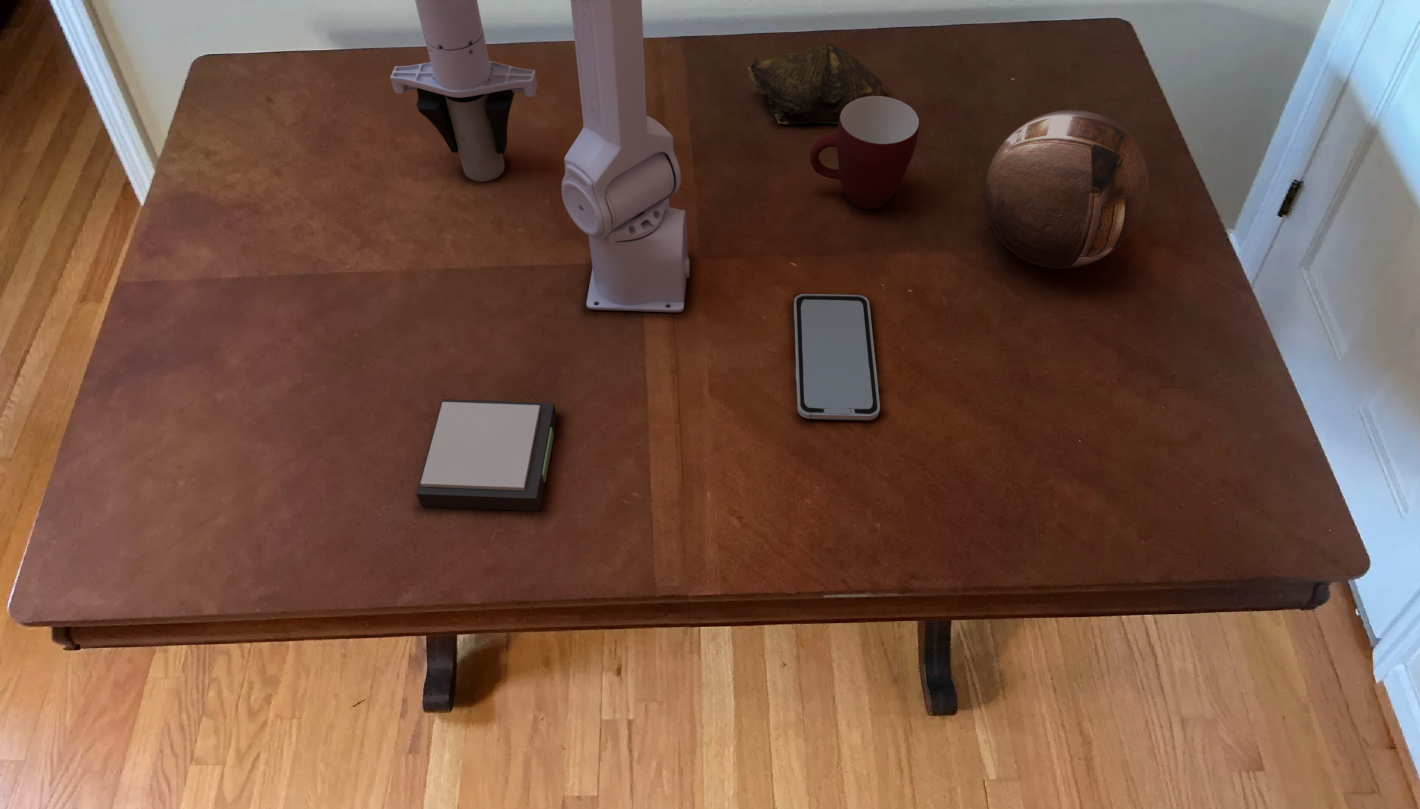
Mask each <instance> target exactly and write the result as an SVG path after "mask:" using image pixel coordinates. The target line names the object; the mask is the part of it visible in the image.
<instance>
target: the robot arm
mask: <svg viewBox="0 0 1420 809" xmlns="http://www.w3.org/2000/svg"><path fill="white" fill-rule="evenodd" d="M642 1H643V0H569V2H570V8H571V9H570V11H571V19H572V20H571V21H572V28H573V38H574V47H575V56H576V67H577V75H578V76H577V77H578V85H579V86H578V87H579V94H580V95H579V96H580V104H581V106H580V107H581V113H582V114H581V115H582V123H583V124H582V125H583V127H582V129H581V130H580V132H579V134H578V136H577V137H576V138H575V140H574V142H572V145H571V146H570V148H569V149H568V151H567V153H566V154H565V156H564V158H563V160H564V161H563V162H564V170H565V172H564V176H563V178H562V180H561V198H562V202H563V205H564V207H565V209H566V212H567V214H568V215H569V217H570V218H571V220H572V221H573V223H574V224H575V226H577V227H578V228H579V229H580V230H581V231H582V232H583V233H585V234H587V237H588V244H589V252H590V259H591V260H590V261H591V268H592V269H591V274H590V280H589V287H588V292H587V299H586V304H585V305H586V308H587V309H588V310H596V311H624V312H625V311H626V312H627V311H629V312H653V313H654V312H655V313H656V312H657V313H681V312H683V311H684V309H685V298H686V288H687V278H688V279H689V277H690V266H691V265H690V264H691V263H690V261H691V260H690V258H689V255H688V227H687V226H688V225H687V211H686V210H685V209H682V208H681V209H680V208H675V207H671V206H670V197H671V196H673V195H675V194H676V193H677V192H678V191H679V189H680V188H681V183H682V182H681V181H682V176H681V168H680V164H679V161H678V158H677V156H676V154H675V153H676V152H675V150H674V137H673V135H672V134H671V133H670V131H668V129H667V128H666V127H665V126H664V125H662V123H660V122H659V121H657V120H656V119H655V118H653V117H651V116H649V115H648V114H647V95H646V71H645V70H646V68H645V67H646V66H645V46H644V45H645V44H644V24H643V23H644V22H643V2H642ZM414 2H415V7H416V11H417V14H418V18H419V22H420V27H421V30H422V35H423V39H424V42H425V45H426V49H427V53H428V58H429V62H423V63H418V64H412V65H401V66H400V65H399V66H397V65H396V66H394V68H393V70H392V72H391V75H390V81H391V84H392V88H393V92H394V94H399V95H400V94H405V93H406V92H407V91H416V92H417V101H416V108H417V110H418V112H419V114H421V115H423V116H424V117H425V118H426V120H428V121H429V122H431V124H432V125H433V126H434V127H435V128H436V130H437V131H438V133H439V134H440V135H441V137H442V139H443V140H444V141H445V143H446V146H447V147H448V149H449V150H450V152H451V153H452V154H455V153H456V154H459V151H458V147H457V143H456V139H455V135H454V131H453V127H452V123H451V119H450V115H449V111H448V107H447V103H446V99H445V95H446V96H450V97H458V98H462V97H470V96H476V95H481V94H487V93H489V97H488V99H487V102H486V105H485V112H486V114H487V116H488V118H489V120H490V123H491V126H492V129H493V133H494V139H495V146H496V150H497V153H498V154H503V155H505V153H506V150H507V146H508V125H509V124H508V123H509V116H510V111H511V107H512V104H513V101H514V97H515V93H516V94H524V96H525V97H527V98H535V97H536V95H537V91H538V86H539V85H538V79H537V73H536V70H535V69H527V68H521V67H516V66H514V65H513V66H512V65H508V64H505V63H500V62H497V61H493V60H490V57H489V52H488V48H487V41H486V37H485V31H484V28H483V22H482V17H481V13H480V12H481V11H480V7H479V3H478V0H414Z"/></svg>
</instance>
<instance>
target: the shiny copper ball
mask: <svg viewBox="0 0 1420 809" xmlns="http://www.w3.org/2000/svg"><path fill="white" fill-rule="evenodd" d="M1149 176H1150V175H1149V169H1148V166H1147V162H1146V159H1145V156H1144V153H1143V152H1142V149H1141V147H1140V146H1139V144H1138V143H1137V141H1136V140H1135V138H1134V137H1133V136H1132V135H1131V133H1129V132H1128V131H1127V130H1126V128H1124V127H1123V126H1122V125H1120V123H1117V122H1116V121H1115V120H1113V119H1111V118H1110V117H1107V116H1105V115H1102V114H1100V113H1097V112H1093V111H1090V110H1089V111H1088V110H1084V109H1063V110H1062V109H1061V110H1056V111H1055V110H1054V111H1051V112H1048V113H1045V114H1042V115H1038V116H1037V117H1035V118H1032V119H1030V120H1028V121H1027V122H1025V123H1023V124H1022V125H1021V126H1019V127H1018V128H1017V129H1015V130H1014V131H1013V132H1012V133H1011V134H1010V135H1009V136H1007V137H1006V139H1005V140H1004V141H1003V142H1002V143H1001V145H1000V146H999V148H998V149H997V151H996V152H995V154H994V156H993V157H992V160H991V162H990V164H989V167H988V169H987V173H986V176H985V182H984V188H983V189H984V190H983V193H984V194H983V198H984V201H983V202H984V208H985V212H986V213H985V214H986V216H987V220H988V222H989V224H990V227H991V229H992V231H993V233H994V234H995V236H996V237H997V238H998V240H999V241H1000V242H1001V243H1002V244H1003V245H1004V247H1006V249H1007V250H1008V251H1009V252H1011V253H1013V254H1014V255H1015V256H1017V257H1018V258H1020V259H1022V260H1024V261H1025V262H1028V263H1030V264H1033V265H1035V266H1038V267H1039V266H1040V267H1043V268H1048V269H1073V268H1078V267H1084V266H1087V265H1089V264H1092V263H1095V262H1097V261H1099V260H1102V259H1103V258H1106V257H1107V256H1108V255H1110V254H1111V253H1113V252H1114V251H1116V250H1117V249H1118V248H1119V247H1120V246H1122V244H1124V243H1125V242H1126V241H1127V239H1129V237H1130V236H1131V235H1132V233H1133V232H1134V231H1135V229H1136V228H1137V226H1138V224H1139V223H1140V221H1141V219H1142V216H1143V214H1144V213H1145V210H1146V206H1147V203H1148V198H1149V190H1150V177H1149Z"/></svg>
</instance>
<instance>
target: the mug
mask: <svg viewBox="0 0 1420 809" xmlns="http://www.w3.org/2000/svg"><path fill="white" fill-rule="evenodd" d="M920 124H921V122H920V117H919V115H918V113H917V112H916V110H915V109H913V107H911V106H910V105H909V104H907V103H906V102H904V101H902V100H900V99H897V98H894V97H890V96H885V95H884V96H867V97H862V98H858V99H855V100H853V101H851V102H849V103H848V104H847V105H846V106H845V107H844V108H843V109H842V110H841V113H840V116H839V123H838V124H837V128H836V133H834V134H831V133H830V134H825V135H823V136H821V137H819V138H818V139H816V141H815V142H814V144H813V145H812V147H811V149H810V154H809V161H810V165H811V167H812V169H813V170H814V171H815V172H816V173H817V174H818V175H820V176H822V177H824V178H828V179H834V180H839V181H840V184H841V186H842V188H843V189H844V191H845V193H846V195H847V197H848V199H849V200H850V202H851V203H852V204H853V205H854V206H856V207H858V208H861V209H866V210H874V209H877V208H880V207H882V206H883V205H884V204H886V203H887V202H888V201H889V199H891V198H892V196H893V195H894V194H895V193H896V192H897V190H898V189H899V188H900V186H901V185H902V182H903V179H904V177H905V175H906V172H907V170H908V167H909V165H910V164H911V163H910V162H911V160H912V159H913V156H914V154H915V150H916V146H917V142H918V137H919V132H920ZM827 148H835V149H836V154H837V162H838V163H837V164H838V169H835V168H832V167H828V166H826V165H824V164H823V163H822V162H821V160H820V154H821V153H822V151H823V150H824V149H827Z"/></svg>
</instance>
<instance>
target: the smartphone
mask: <svg viewBox="0 0 1420 809" xmlns="http://www.w3.org/2000/svg"><path fill="white" fill-rule="evenodd" d="M870 307H871V306H870V301H869V300H868V298H867V297H866V296H864V295H860V294H825V293H823V294H820V293H819V294H817V293H815V294H812V293H801V294H799V295H797V296H796V297H795V298H794V299H793V320H794V321H793V322H794V348H795V350H794V351H795V383H796V401H797V402H796V404H797V405H796V406H797V412H798V414H799V415H800V416H801V417H802V418H804V419H807V420H840V421H841V420H842V421H843V420H849V421H872V420H874V419H876V418H877V417H878V416H879V414H880V410H881V405H880V404H881V403H880V394H879V384H878V374H877V373H878V372H877V364H876V356H875V347H874V337H873V326H872V318H871V317H872V316H871V308H870Z"/></svg>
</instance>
